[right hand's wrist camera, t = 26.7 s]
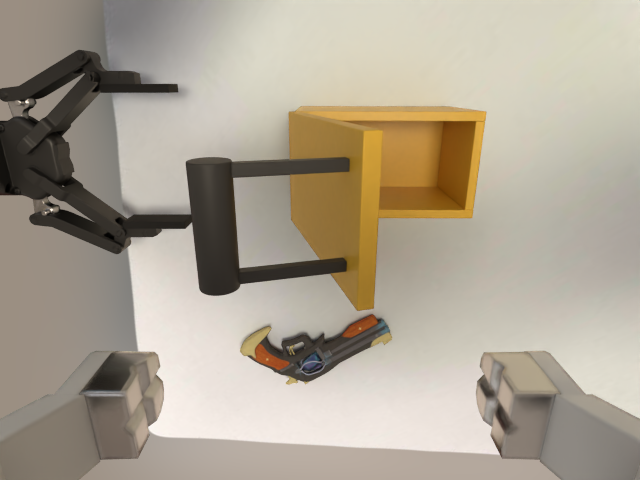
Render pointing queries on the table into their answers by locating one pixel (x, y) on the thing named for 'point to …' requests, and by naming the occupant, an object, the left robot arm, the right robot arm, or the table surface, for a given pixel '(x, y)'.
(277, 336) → the table surface
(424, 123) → the chest
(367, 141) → the lid
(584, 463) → the right robot arm
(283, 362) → the toy gun
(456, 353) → the table surface
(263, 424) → the table surface
